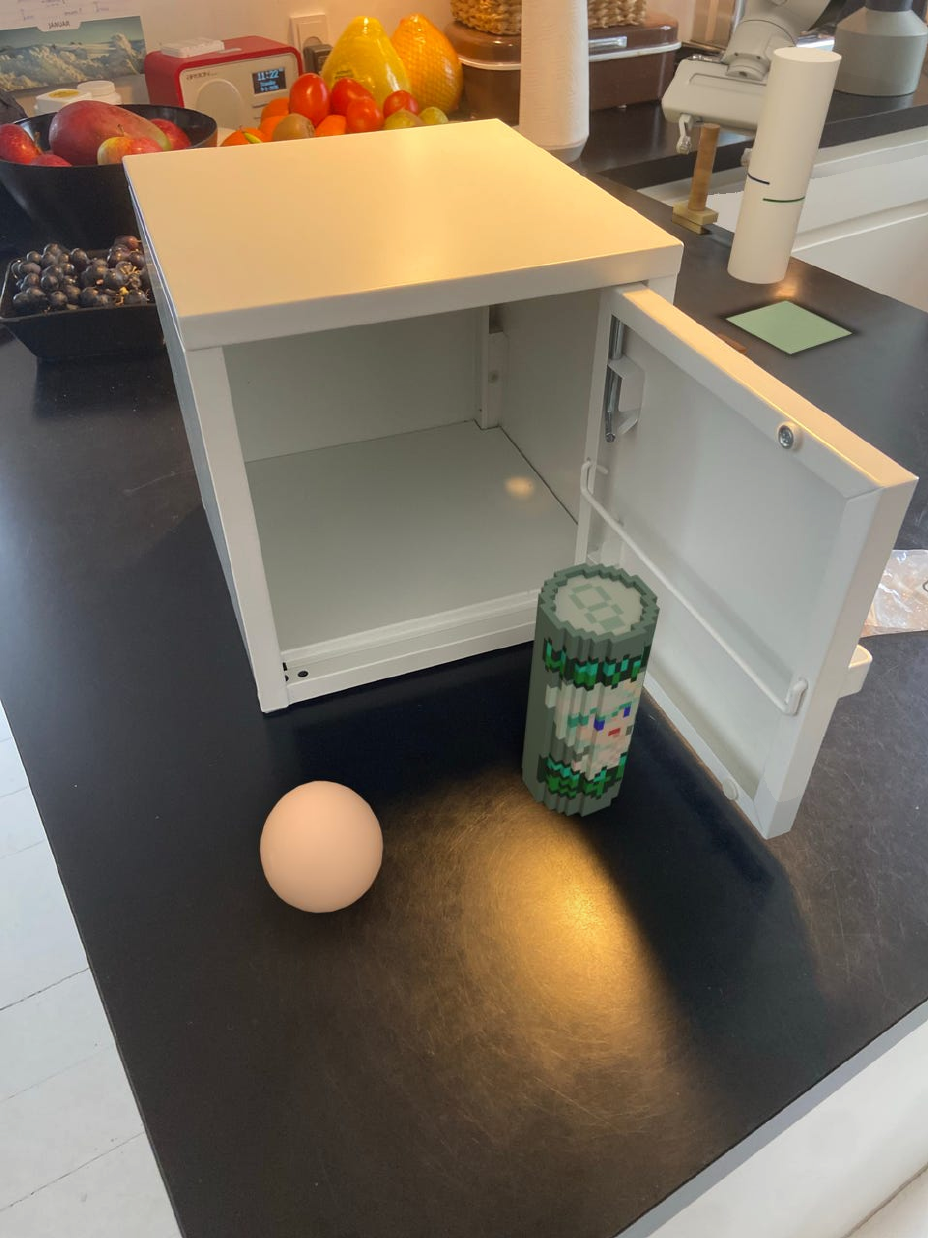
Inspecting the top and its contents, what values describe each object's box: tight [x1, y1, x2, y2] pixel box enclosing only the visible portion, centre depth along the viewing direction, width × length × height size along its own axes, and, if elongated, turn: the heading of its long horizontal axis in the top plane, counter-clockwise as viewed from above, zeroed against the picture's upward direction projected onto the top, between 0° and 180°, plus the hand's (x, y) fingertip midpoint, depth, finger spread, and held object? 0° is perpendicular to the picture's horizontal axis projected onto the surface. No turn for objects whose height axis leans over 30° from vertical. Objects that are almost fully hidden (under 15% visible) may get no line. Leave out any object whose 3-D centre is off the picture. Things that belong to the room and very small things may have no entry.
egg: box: [259, 780, 384, 914], centre depth 50 cm, size 7×7×8 cm
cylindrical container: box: [726, 46, 842, 285], centre depth 108 cm, size 7×7×25 cm
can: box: [521, 562, 661, 817], centre depth 53 cm, size 6×6×15 cm
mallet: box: [671, 123, 721, 236], centre depth 125 cm, size 6×3×13 cm, turn 31°
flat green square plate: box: [725, 300, 853, 355], centre depth 105 cm, size 10×10×1 cm
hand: (713, 157), depth 126 cm, fingers open, 8 cm apart
